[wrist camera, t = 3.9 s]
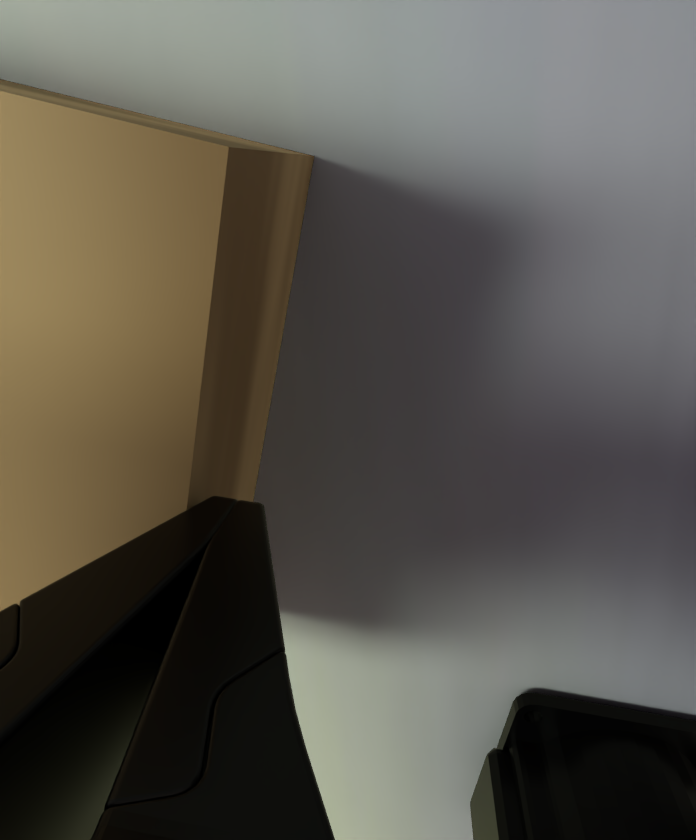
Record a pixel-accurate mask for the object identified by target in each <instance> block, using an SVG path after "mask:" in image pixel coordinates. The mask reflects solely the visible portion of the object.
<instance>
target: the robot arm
mask: <svg viewBox="0 0 696 840" xmlns="http://www.w3.org/2000/svg"><path fill="white" fill-rule="evenodd" d="M470 807H471V818H472V829H473V840H696V721H692V720H686V719H681V718H675V717H669V716H664V715H658V714H652V713H647V712H641V711H635V710H630V709H624V708H618V707H613V706H607V705H601V704H596V703H590V702H584V701H579V700H573V699H567V698H561V697H556V696H550V695H544V694H539V693H524V694H521V695H519V696H518V697H516V699H515V700H514V701H513V704H512V707H511V710H510V712H509V715H508V718H507V721H506V724H505V726H504V729H503V732H502V735H501V737H500V740H499V743H498V746H497V748H493V749H492V750H491V751H490V752H489V753H488V754H487V756H486V759H485V762H484V765H483V767H482V770H481V773H480V776H479V779H478V782H477V784H476V787H475V790H474V793H473V796H472V799H471V802H470ZM0 840H335V838H334V835H333V832H332V829H331V826H330V823H329V819H328V816H327V813H326V810H325V807H324V804H323V801H322V797H321V794H320V791H319V788H318V785H317V782H316V778H315V775H314V772H313V769H312V766H311V763H310V760H309V756H308V753H307V750H306V747H305V743H304V739H303V736H302V732H301V728H300V724H299V721H298V717H297V713H296V710H295V704H294V699H293V694H292V689H291V683H290V678H289V672H288V665H287V658H286V654H285V647H284V640H283V633H282V626H281V619H280V612H279V606H278V599H277V592H276V585H275V578H274V572H273V565H272V558H271V551H270V544H269V537H268V531H267V524H266V517H265V510H264V506H263V504H261V503H256V502H250V501H244V500H239V501H238V500H237V499H233V498H227V497H221V496H212V497H209V498H208V499H206V500H204V501H202V502H200V503H198V504H197V505H195V506H193V507H191V508H189V509H187V510H186V511H184V512H182V513H180V514H178V515H176V516H175V517H173V518H171V519H169V520H167V521H165V522H164V523H162V524H160V525H158V526H156V527H154V528H152V529H151V530H149V531H147V532H145V533H143V534H141V535H140V536H138V537H136V538H134V539H132V540H130V541H129V542H127V543H125V544H123V545H121V546H119V547H118V548H116V549H114V550H112V551H110V552H108V553H107V554H105V555H103V556H101V557H99V558H97V559H95V560H94V561H92V562H90V563H88V564H86V565H84V566H83V567H81V568H79V569H77V570H75V571H73V572H72V573H70V574H68V575H66V576H64V577H62V578H61V579H59V580H57V581H55V582H53V583H51V584H49V585H48V586H46V587H44V588H42V589H40V590H38V591H37V592H35V593H33V594H31V595H29V596H27V597H26V598H24V599H22V600H21V601H20V603H19V605H18V604H12V605H10V606H9V607H7V608H5V609H3V610H1V611H0Z"/></svg>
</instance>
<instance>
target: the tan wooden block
mask: <svg viewBox="0 0 696 840" xmlns="http://www.w3.org/2000/svg"><path fill="white" fill-rule="evenodd" d="M313 160H314V156H311V155H307V154H303V153H299V152H295V151H291V150H287V149H283V148H279V147H275V146H270V145H266V144H262V143H258V142H254V141H250V140H246V139H242V138H238V137H234V136H230V135H226V134H222V133H217V132H213V131H209V130H205V129H201V128H197V127H193V126H189V125H185V124H181V123H177V122H173V121H169V120H165V119H160V118H156V117H152V116H148V115H144V114H140V113H136V112H132V111H128V110H124V109H120V108H116V107H112V106H107V105H103V104H99V103H95V102H91V101H87V100H83V99H79V98H75V97H71V96H67V95H63V94H59V93H54V92H50V91H46V90H42V89H38V88H34V87H30V86H26V85H22V84H18V83H14V82H10V81H6V80H1V79H0V611H1V610H3V609H5V608H7V607H9V606H10V605H12V604H18V605H19V603H20V601H21V600H22V599H24V598H26V597H27V596H29V595H31V594H33V593H35V592H37V591H38V590H40V589H42V588H44V587H46V586H48V585H49V584H51V583H53V582H55V581H57V580H59V579H61V578H62V577H64V576H66V575H68V574H70V573H72V572H73V571H75V570H77V569H79V568H81V567H83V566H84V565H86V564H88V563H90V562H92V561H94V560H95V559H97V558H99V557H101V556H103V555H105V554H107V553H108V552H110V551H112V550H114V549H116V548H118V547H119V546H121V545H123V544H125V543H127V542H129V541H130V540H132V539H134V538H136V537H138V536H140V535H141V534H143V533H145V532H147V531H149V530H151V529H152V528H154V527H156V526H158V525H160V524H162V523H164V522H165V521H167V520H169V519H171V518H173V517H175V516H176V515H178V514H180V513H182V512H184V511H186V510H187V509H189V508H191V507H193V506H195V505H197V504H198V503H200V502H202V501H204V500H206V499H208V498H209V497H212V496H221V497H227V498H233V499H237V500H238V501H239V500H244V501H250V502H253V500H254V494H255V488H256V483H257V477H258V471H259V466H260V460H261V454H262V449H263V443H264V437H265V432H266V426H267V421H268V415H269V409H270V404H271V398H272V392H273V387H274V381H275V375H276V370H277V364H278V358H279V353H280V347H281V341H282V336H283V330H284V324H285V319H286V313H287V307H288V302H289V296H290V290H291V285H292V279H293V273H294V268H295V262H296V256H297V251H298V245H299V239H300V234H301V228H302V222H303V217H304V211H305V205H306V200H307V194H308V188H309V183H310V177H311V171H312V166H313Z"/></svg>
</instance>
